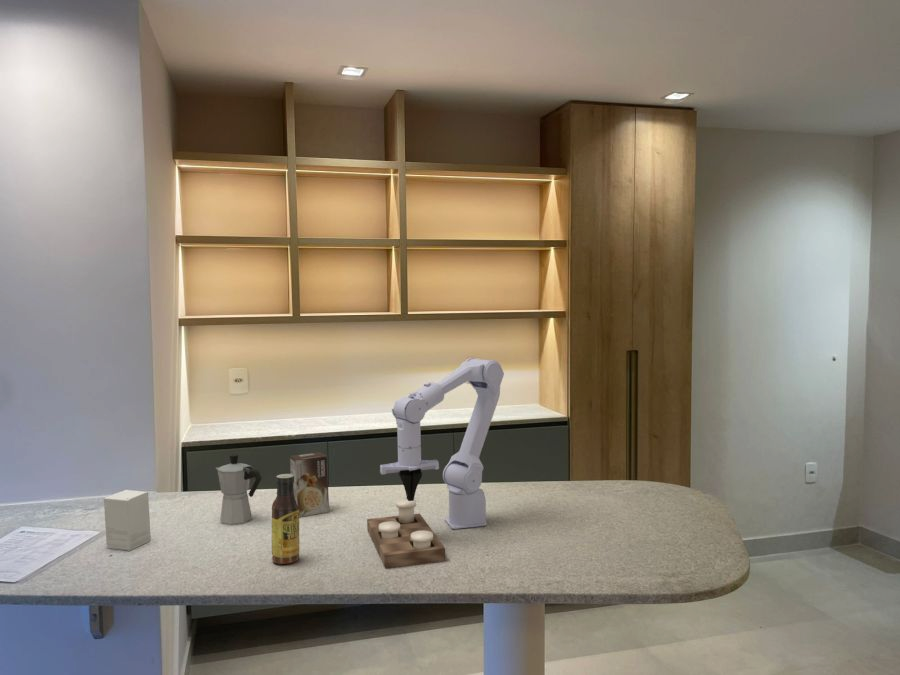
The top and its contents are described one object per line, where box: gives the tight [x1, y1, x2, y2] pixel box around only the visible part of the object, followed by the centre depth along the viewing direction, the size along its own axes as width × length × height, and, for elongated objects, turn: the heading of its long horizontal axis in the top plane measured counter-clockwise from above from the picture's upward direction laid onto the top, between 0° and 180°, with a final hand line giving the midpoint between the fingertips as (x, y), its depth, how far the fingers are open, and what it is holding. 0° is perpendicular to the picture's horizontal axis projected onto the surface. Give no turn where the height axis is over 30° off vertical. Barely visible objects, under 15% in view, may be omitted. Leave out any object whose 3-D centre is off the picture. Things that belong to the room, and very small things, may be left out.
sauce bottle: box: [271, 473, 300, 565], centre depth 158 cm, size 7×6×20 cm
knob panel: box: [366, 513, 446, 569], centre depth 168 cm, size 14×25×3 cm, turn 16°
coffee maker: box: [215, 453, 263, 526], centre depth 186 cm, size 15×9×18 cm, turn 68°
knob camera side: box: [411, 531, 433, 549], centre depth 160 cm, size 5×5×5 cm
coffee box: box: [289, 451, 330, 518], centre depth 192 cm, size 9×6×16 cm
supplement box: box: [103, 489, 152, 552], centre depth 170 cm, size 7×7×13 cm
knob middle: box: [379, 521, 400, 539], centre depth 167 cm, size 5×5×5 cm
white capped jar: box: [395, 497, 417, 523], centre depth 176 cm, size 5×5×5 cm
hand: (410, 499), depth 171 cm, fingers closed
